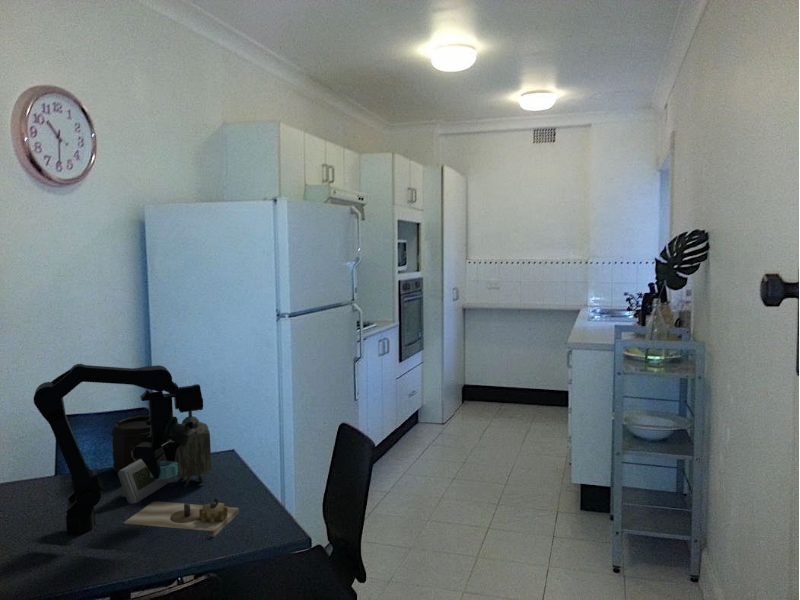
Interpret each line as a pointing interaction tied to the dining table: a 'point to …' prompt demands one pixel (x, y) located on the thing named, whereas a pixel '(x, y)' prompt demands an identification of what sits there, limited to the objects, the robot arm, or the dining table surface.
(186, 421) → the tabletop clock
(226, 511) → the gear board
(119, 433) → the brown round pot
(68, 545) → the dining table surface
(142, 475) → the digital clock
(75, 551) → the dining table surface
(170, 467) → the teal gear
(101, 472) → the dining table surface
